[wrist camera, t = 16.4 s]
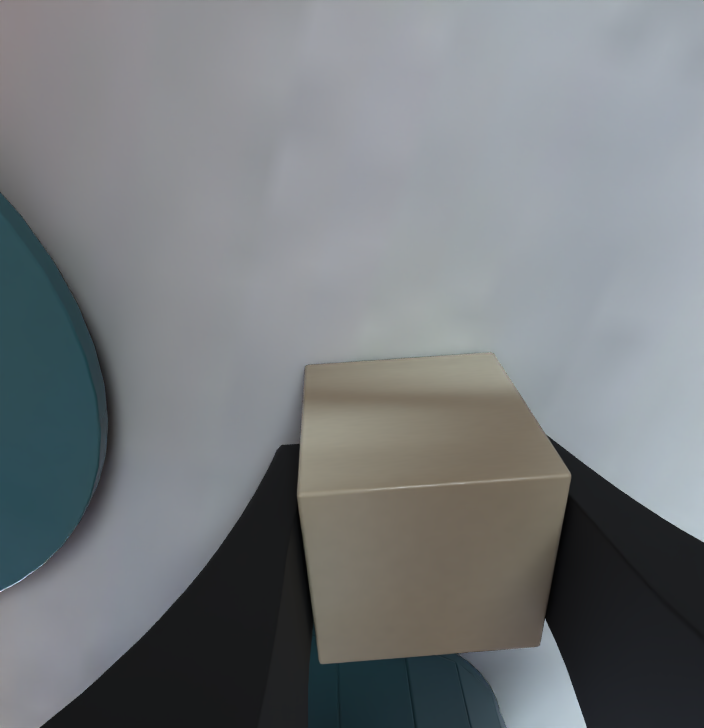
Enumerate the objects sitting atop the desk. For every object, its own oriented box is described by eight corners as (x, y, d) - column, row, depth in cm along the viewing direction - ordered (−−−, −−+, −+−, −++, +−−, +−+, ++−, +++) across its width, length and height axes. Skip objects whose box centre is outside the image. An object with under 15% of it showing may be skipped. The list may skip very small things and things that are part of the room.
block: (319, 507, 13) (319, 666, 10) (304, 363, 12) (295, 495, 8) (481, 495, 14) (541, 648, 10) (493, 350, 12) (573, 474, 8)
